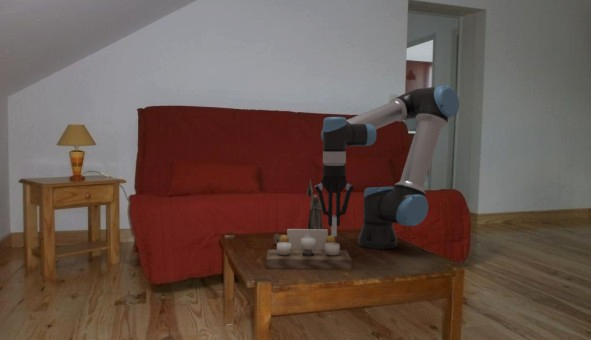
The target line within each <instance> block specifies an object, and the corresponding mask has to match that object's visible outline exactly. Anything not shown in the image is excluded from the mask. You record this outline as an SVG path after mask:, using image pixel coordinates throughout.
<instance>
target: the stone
mask: <svg viewBox="0 0 591 340" xmlns="http://www.w3.org/2000/svg"><path fill="white" fill-rule="evenodd" d="M282 235H283V234H278V233H275V234H274V236H273V239H274V242H275V244H276V245H277V243H279V242H280V237H281V236H282Z"/></svg>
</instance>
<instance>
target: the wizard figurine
mask: <svg viewBox="0 0 591 340" xmlns="http://www.w3.org/2000/svg"><path fill="white" fill-rule="evenodd" d="M306 196H308V197H310V198H311V200H310V203H309V206H310V209H309V213H308V223H307V228H306V229H324V228H323V227H324V226H323V215H322V207H321V203H320V199H319V196H318V194H314V190H313V185H312V180H311V178H310V179H309V184H308V187H307V191H306Z"/></svg>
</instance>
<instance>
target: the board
mask: <svg viewBox="0 0 591 340" xmlns="http://www.w3.org/2000/svg"><path fill="white" fill-rule="evenodd" d="M265 265H266V267H265V268H266V269H292V270H293V269H299V270H301V269H302V270H303V269H305V270H309V269H310V270H312V269H313V270H316V269H317V270H319V269H320V270H352V258H351V256H350V255H349V252H348V251H347V250H346V249H344V250H343V249H340V254H339V255H336V256H329V255H327V254H325V250H312V256H305V250H291V254H288V256H280V254H277V249H273V248H272V249H267V254H266V264H265Z"/></svg>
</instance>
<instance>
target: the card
mask: <svg viewBox="0 0 591 340" xmlns="http://www.w3.org/2000/svg"><path fill="white" fill-rule="evenodd" d="M281 235H282V236H281V237H280V242H288V243H291V250H305V249H302V248H301V238H304V237H311V238H315V239H316V248H315V249H312V250H325V244H326V243H336V237H332V235H331V234H330V235H329V230H328V229H324V228H323V229H307V228H306V229H305V228H287V230H286V234H281Z"/></svg>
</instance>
